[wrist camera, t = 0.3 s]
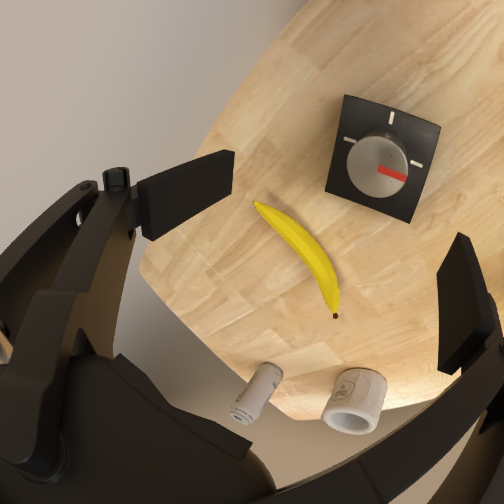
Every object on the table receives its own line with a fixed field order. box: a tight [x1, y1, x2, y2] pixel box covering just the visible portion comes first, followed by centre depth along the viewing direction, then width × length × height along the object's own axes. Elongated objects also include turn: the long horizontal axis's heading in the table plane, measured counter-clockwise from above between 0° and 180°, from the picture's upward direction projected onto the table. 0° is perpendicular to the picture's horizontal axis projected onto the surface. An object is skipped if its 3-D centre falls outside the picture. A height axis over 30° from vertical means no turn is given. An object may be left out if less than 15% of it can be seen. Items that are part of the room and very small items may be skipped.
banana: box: [253, 201, 339, 319], centre depth 36 cm, size 3×19×6 cm, turn 46°
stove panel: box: [325, 94, 441, 224], centre depth 27 cm, size 12×11×3 cm
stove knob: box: [347, 129, 408, 198], centre depth 22 cm, size 5×5×9 cm
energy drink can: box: [230, 363, 282, 425], centre depth 55 cm, size 6×6×15 cm
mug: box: [321, 369, 387, 434], centre depth 45 cm, size 14×11×10 cm
